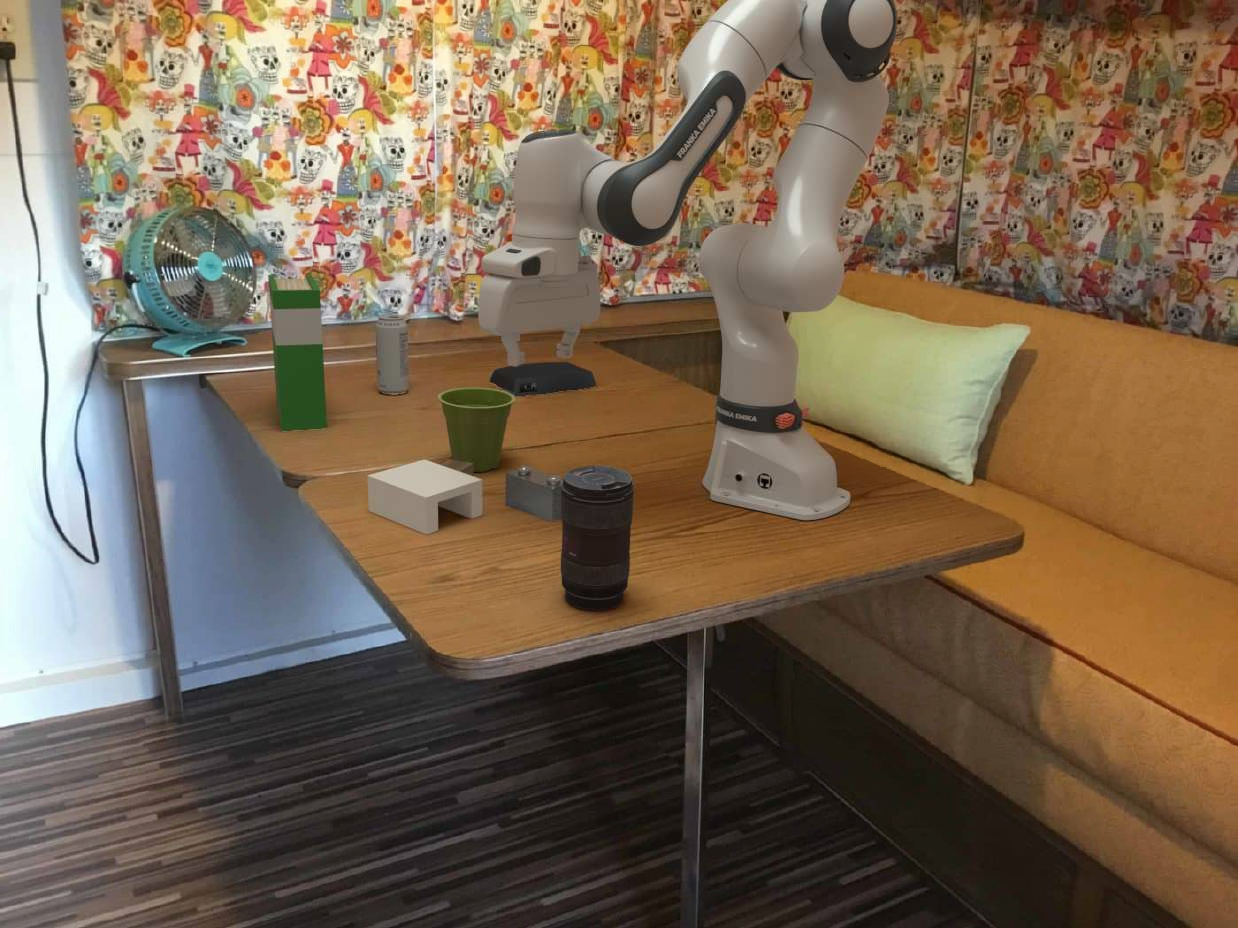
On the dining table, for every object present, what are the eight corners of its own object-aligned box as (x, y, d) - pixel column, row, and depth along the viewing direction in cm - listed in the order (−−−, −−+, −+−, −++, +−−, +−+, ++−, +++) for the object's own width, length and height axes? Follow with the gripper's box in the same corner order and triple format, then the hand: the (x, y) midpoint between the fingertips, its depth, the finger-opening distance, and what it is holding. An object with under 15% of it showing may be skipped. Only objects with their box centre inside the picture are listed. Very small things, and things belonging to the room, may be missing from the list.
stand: (482, 514, 141) (482, 479, 140) (426, 534, 134) (425, 497, 132) (424, 493, 149) (424, 459, 147) (368, 511, 141) (367, 475, 139)
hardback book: (276, 405, 189) (268, 274, 182) (318, 403, 192) (311, 274, 184) (281, 432, 174) (272, 291, 166) (327, 429, 176) (319, 290, 169)
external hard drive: (486, 385, 212) (486, 366, 210) (567, 376, 222) (567, 358, 221) (515, 400, 201) (515, 380, 200) (599, 390, 212) (599, 370, 210)
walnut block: (473, 488, 152) (473, 463, 150) (460, 497, 148) (460, 471, 147) (449, 484, 153) (449, 459, 151) (436, 493, 149) (435, 467, 148)
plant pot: (458, 482, 153) (457, 410, 150) (426, 460, 163) (425, 391, 159) (528, 471, 160) (528, 401, 156) (493, 450, 169) (493, 384, 166)
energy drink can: (382, 387, 204) (379, 313, 200) (412, 389, 204) (410, 314, 199) (374, 395, 199) (371, 318, 194) (404, 396, 198) (402, 320, 194)
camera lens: (544, 596, 118) (546, 473, 113) (595, 577, 124) (599, 459, 119) (591, 621, 113) (596, 493, 108) (643, 600, 118) (649, 478, 114)
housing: (571, 515, 143) (572, 476, 141) (552, 522, 140) (552, 483, 138) (525, 499, 148) (525, 461, 147) (505, 506, 146) (505, 467, 144)
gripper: (579, 252, 144) (574, 348, 149) (471, 258, 129) (469, 366, 133) (614, 257, 141) (607, 356, 145) (506, 265, 125) (503, 375, 130)
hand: (540, 361), depth 139 cm, fingers open, 8 cm apart
